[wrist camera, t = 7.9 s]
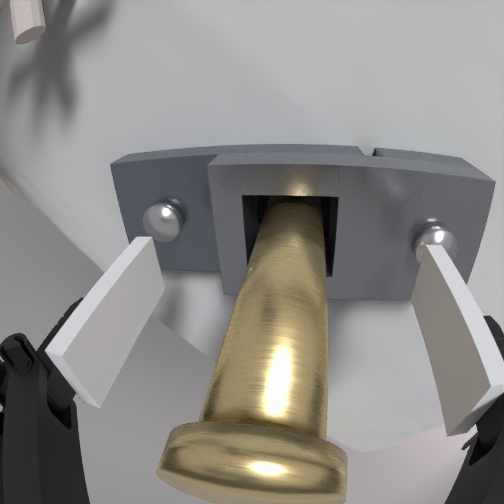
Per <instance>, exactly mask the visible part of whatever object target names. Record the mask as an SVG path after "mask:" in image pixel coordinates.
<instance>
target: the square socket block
mask: <svg viewBox="0 0 504 504" xmlns="http://www.w3.org/2000/svg"><path fill="white" fill-rule="evenodd" d="M110 166H111V171H112V176H113V181H114V185H115V190H116V194H117V198H118V202H119V207H120V211H121V215H122V218H123V222H124V226H125V230H126V234H127V237H128V241H129V244H131V242H132V241H133V240H134V239H135V238H136V237H152V238H153V242H154V246H155V250H156V254H157V258H158V262H159V266H160V269H177V270H195V271H215V272H221V277H222V283H223V290H224V294H234V295H239V292H240V289H241V286H242V283H243V279H244V276H245V273H246V270H247V267H248V264H249V261H250V257H251V254H252V251H253V248H254V245H255V242H256V239H257V235H258V232H259V227H258V210H257V195H297V196H331V197H330V216H329V233H328V237H324V247H325V263H326V284H327V299H365V300H411V296H412V293H413V290H414V287H415V283H416V280H417V276H418V272H419V269H420V265H421V261H422V257H423V253H424V249H425V245H442V246H443V248H444V249H445V251H446V252H447V254H448V256H449V257H450V259H451V260H452V262H453V264H454V265H455V267H456V269H457V270H458V272H459V274H460V275H461V277H462V279H463V280H464V282H465V284H466V285H467V282H468V279H469V277H470V274H471V271H472V268H473V265H474V262H475V259H476V256H477V253H478V250H479V247H480V243H481V240H482V237H483V233H484V230H485V226H486V222H487V218H488V214H489V210H490V206H491V202H492V197H493V193H494V188H495V183H496V182H495V181H494V180H493V179H491V178H490V177H489V176H487V175H486V174H484V173H483V172H481V171H480V170H479V169H477V168H476V167H474V166H473V165H471V164H470V163H468V162H467V161H465V160H463V159H462V158H458V157H451V156H444V155H437V154H430V153H422V152H414V151H405V150H395V149H384V148H375V156H365V155H364V154H363V153H362V152H361V150H360V149H359V148H358V147H356V146H337V145H305V144H264V145H231V146H212V147H197V148H184V149H173V150H162V151H153V152H144V153H136V154H128V155H126V156H124V157H122V158H120V159H118V160H117V161H115V162H113V163H111V164H110Z"/></svg>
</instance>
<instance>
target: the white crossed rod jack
mask: <svg viewBox="0 0 504 504" xmlns="http://www.w3.org/2000/svg"><path fill="white" fill-rule="evenodd" d="M8 1H9V0H0V9H1V8H2V7H3V6H4V5H5V4H6V3H7V2H8ZM10 10H11V18H12V25H13V32H14V38H15V42H16V44H24V43H28V42H30V41H33V40H35V39H37V38H38V37H40V36H41V35H42V34H43V33H44V32H45V31H46V24H45V19H44V13H43V7H42V1H41V0H10Z"/></svg>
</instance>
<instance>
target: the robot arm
mask: <svg viewBox="0 0 504 504" xmlns="http://www.w3.org/2000/svg"><path fill="white" fill-rule="evenodd" d="M165 289H166V288H165V285H164V281H163V277H162V274H161V270H160V266H159V262H158V258H157V254H156V250H155V246H154V242H153V238H152V237H136V238H135V239H134V240H133V241H132V242H131V244H130V245H129V246H128V247H127V248H126V249H125V250H124V251H123V253H122V254H121V255H120V256H119V257H118V258H117V259H116V261H115V262H114V263H113V264H112V265H111V266H110V268H109V269H108V270H107V271H106V272H105V273H104V275H103V276H102V277H101V278H100V279H99V281H98V282H97V283H96V285H94V287H93V288H92V289H91V290H90V292H89V293H88V294H87V295H86V297H85V298H81V299H79V300H78V301H77V302H75V303H74V304H72V305H71V306H70V307H69V309H68V310H67V311H66V313H65V314H64V317H62V318H61V319H60V320H59V321H58V325H55V327H54V328H53V329H52V331H51V332H50V333H49V335H48V336H47V337H46V339H45V340H44V341H43V343H42V344H41V345H40V347H39V348H38V350H37V351H35V349H34V348H33V346H32V345H31V343H30V342H29V340H28V339H27V337H26V336H25V335H24V334H22V333H17V334H13V335H11V336H9V337H7V338H6V339H5V340H4V341H3V342H2V343H1V344H0V356H1V357H2V359H3V360H4V362H2V361H1V360H0V404H1V405H2V406H3V409H2V411H1V412H0V504H90V502H89V497H88V493H87V487H86V482H85V476H84V470H83V464H82V457H81V450H80V441H79V433H78V421H77V408H76V404H75V402H74V401H73V398H74V396H75V394H77V395H78V396H79V397H80V398H81V400H82V401H83V402H84V403H87V404H90V405H92V406H95V407H98V408H101V406H102V404H103V402H104V400H105V399H106V397H107V395H108V392H109V391H110V389H111V387H112V385H113V383H114V381H115V379H116V377H117V375H118V373H119V371H120V370H121V368H122V366H123V364H124V362H125V360H126V358H127V356H128V355H129V353H130V351H131V349H132V347H133V346H134V344H135V342H136V340H137V338H138V336H139V335H140V333H141V331H142V329H143V328H144V326H145V324H146V322H147V320H148V319H149V317H150V315H151V313H152V312H153V310H154V308H155V306H156V305H157V303H158V301H159V300H160V298H161V296H162V294H163V293H164V291H165ZM411 302H412V304H413V307H414V310H415V313H416V316H417V319H418V322H419V325H420V329H421V332H422V335H423V338H424V342H425V345H426V348H427V352H428V355H429V359H430V362H431V366H432V370H433V374H434V378H435V382H436V386H437V390H438V394H439V398H440V403H441V407H442V412H443V417H444V422H445V427H446V433H447V436H453V435H458V434H463V433H467V432H468V431H469V430H470V429H471V428H472V427H473V426H474V425H475V424H476V426H477V431H478V432H477V433H476V434H475V435H474V436H473V437H472V438H471V439H470V440H468V441H467V442H466V443H465V444H464V446H463V447H462V450H465V449H466V448H467V447H468V446H469V445H470V447H469V450H468V452H467V455H466V458H465V460H464V463H463V465H462V468H461V470H460V472H459V475H458V477H457V479H456V481H455V483H454V486H453V488H452V490H451V492H450V494H449V496H448V498H447V500H446V502H445V504H504V334H503V332H502V330H501V328H500V326H499V324H498V323H497V322H496V321H495V320H494V319H493V318H492V317H491V316H483V315H482V313H481V311H480V309H479V308H478V306H477V304H476V302H475V300H474V298H473V296H472V295H471V293H470V291H469V289H468V287H467V286H466V284H465V282H464V280H463V279H462V277H461V275H460V274H459V272H458V270H457V269H456V267H455V265H454V264H453V262H452V260H451V259H450V257H449V256H448V254H447V252H446V251H445V249H444V248H443V246H442V245H425V249H424V253H423V257H422V261H421V265H420V269H419V272H418V276H417V280H416V283H415V287H414V290H413V293H412V296H411Z"/></svg>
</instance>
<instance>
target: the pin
mask: <svg viewBox="0 0 504 504" xmlns="http://www.w3.org/2000/svg"><path fill="white" fill-rule="evenodd" d="M327 402H328V312H327V284H326V263H325V247H324V232H323V219H322V207H321V199H320V196H297V195H270V198H269V201H268V204H267V207H266V210H265V213H264V217H263V220H262V223H261V226H260V229H259V232H258V235H257V239H256V242H255V245H254V248H253V251H252V254H251V257H250V261H249V264H248V267H247V270H246V273H245V276H244V279H243V283H242V286H241V289H240V292H239V295H238V298H237V301H236V305H235V308H234V311H233V314H232V317H231V320H230V323H229V327H228V330H227V333H226V336H225V339H224V342H223V345H222V349H221V352H220V355H219V358H218V361H217V364H216V367H215V370H214V374H213V377H212V380H211V383H210V386H209V389H208V392H207V396H206V399H205V403H204V405H203V408H202V411H201V414H200V418H199V421H198V422H195V423H188V424H183V425H180V426H178V427H176V428H174V429H173V430H172V431H171V433H170V435H169V438H168V441H167V444H166V446H165V449H164V452H163V454H162V457H161V460H160V463H159V466H158V468H157V471H156V474H157V475H158V477H159V478H160V479H161V480H163V481H164V482H166V483H167V484H168V485H170V486H172V487H174V488H176V489H178V490H180V491H182V492H184V493H187V494H189V495H192V496H195V497H197V498H200V499H203V500H206V501H209V502H213V503H217V504H343V503H344V502H345V501H346V485H347V459H348V457H347V455H346V453H345V452H344V451H343V450H342V449H341V448H339V447H338V446H336V445H334V444H332V443H330V442H328V441H326V429H327Z"/></svg>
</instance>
